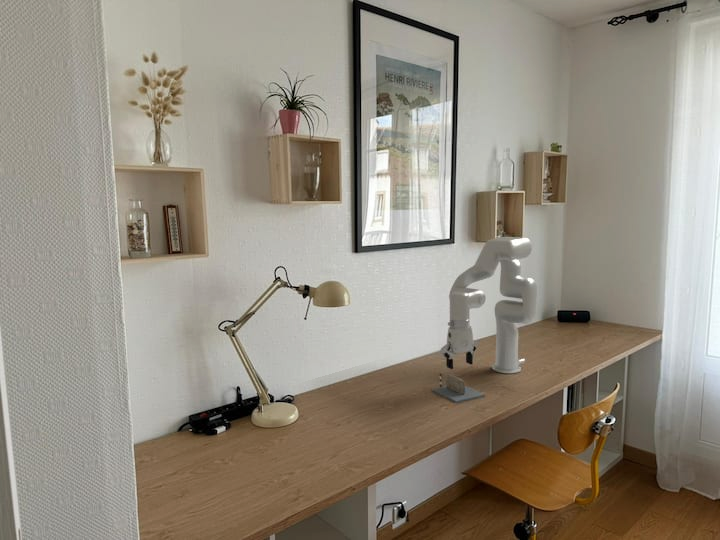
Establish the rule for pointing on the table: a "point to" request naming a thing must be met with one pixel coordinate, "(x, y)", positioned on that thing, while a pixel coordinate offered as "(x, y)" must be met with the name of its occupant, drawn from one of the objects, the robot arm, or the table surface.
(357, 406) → the table surface
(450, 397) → the mat
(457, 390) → the cuneiform tablet
